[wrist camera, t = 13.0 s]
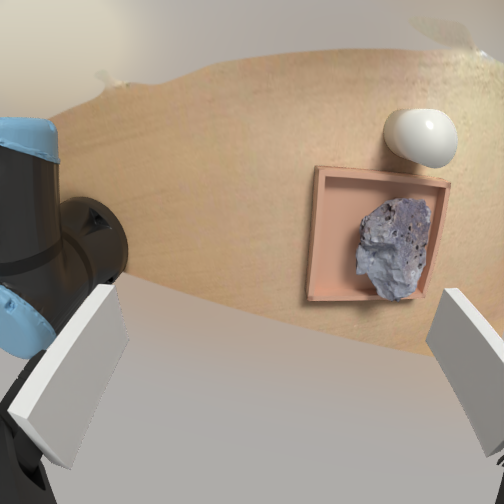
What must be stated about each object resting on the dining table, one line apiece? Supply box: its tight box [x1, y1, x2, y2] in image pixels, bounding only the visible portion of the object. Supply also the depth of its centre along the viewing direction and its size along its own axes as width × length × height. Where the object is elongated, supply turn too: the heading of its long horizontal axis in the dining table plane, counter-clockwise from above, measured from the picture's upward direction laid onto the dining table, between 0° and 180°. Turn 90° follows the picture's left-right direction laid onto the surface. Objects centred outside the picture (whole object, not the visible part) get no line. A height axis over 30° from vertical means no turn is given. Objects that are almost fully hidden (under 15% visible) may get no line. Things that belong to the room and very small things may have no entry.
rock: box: [356, 198, 431, 302], centre depth 38 cm, size 14×10×10 cm
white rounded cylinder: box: [384, 109, 458, 168], centre depth 32 cm, size 7×7×8 cm
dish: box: [305, 166, 451, 301], centre depth 41 cm, size 20×19×3 cm
